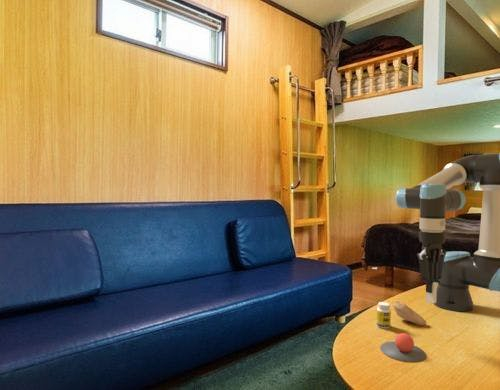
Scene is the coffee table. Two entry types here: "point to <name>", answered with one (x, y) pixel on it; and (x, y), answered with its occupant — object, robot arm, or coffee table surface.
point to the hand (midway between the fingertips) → (431, 301)
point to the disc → (403, 353)
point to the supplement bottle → (383, 315)
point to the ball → (404, 342)
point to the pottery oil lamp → (408, 313)
